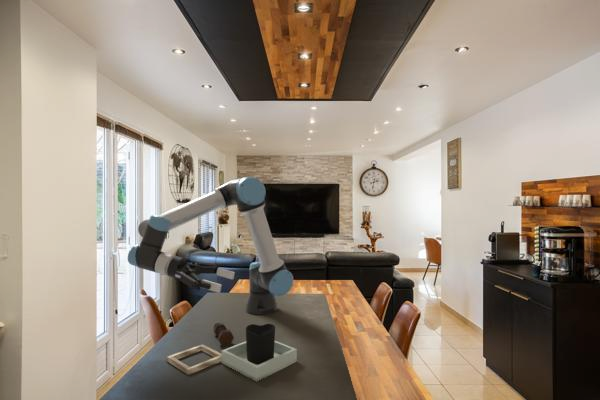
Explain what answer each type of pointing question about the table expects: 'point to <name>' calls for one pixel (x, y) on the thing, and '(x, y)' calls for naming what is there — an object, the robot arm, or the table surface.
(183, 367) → the square wooden frame
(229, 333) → the bolt
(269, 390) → the table surface
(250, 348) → the pen holder
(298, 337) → the table surface
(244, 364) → the bin
